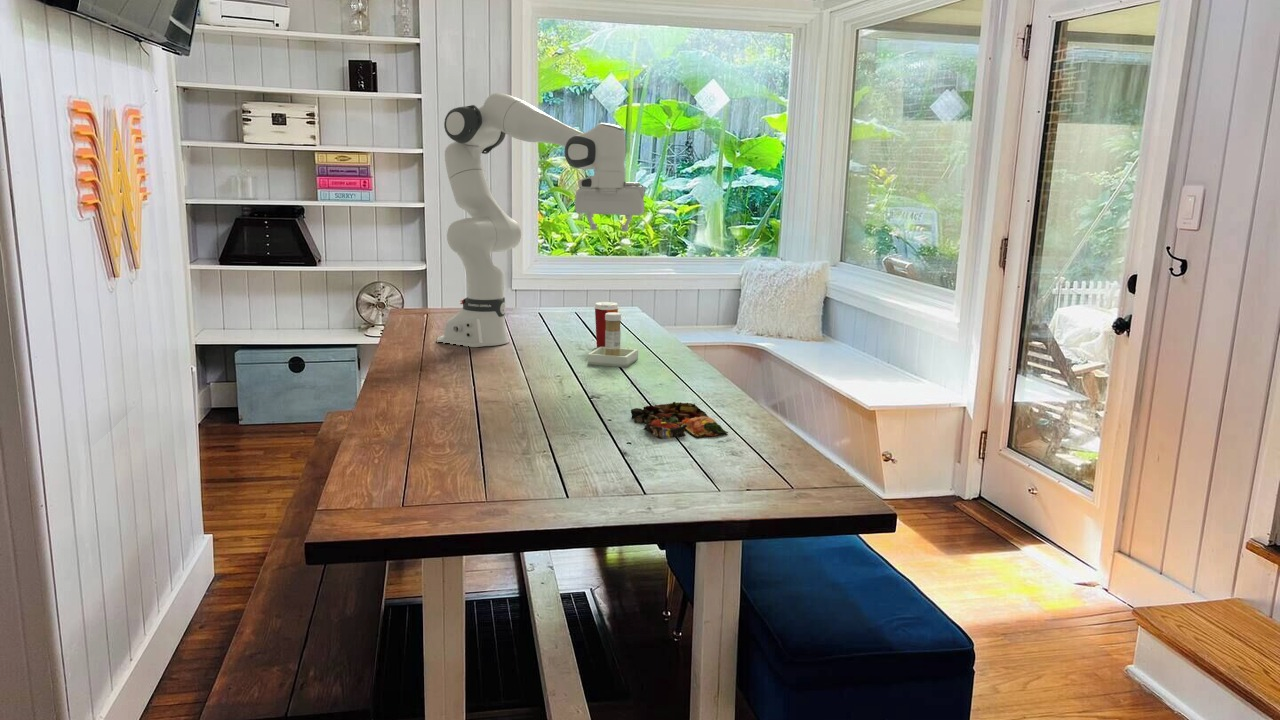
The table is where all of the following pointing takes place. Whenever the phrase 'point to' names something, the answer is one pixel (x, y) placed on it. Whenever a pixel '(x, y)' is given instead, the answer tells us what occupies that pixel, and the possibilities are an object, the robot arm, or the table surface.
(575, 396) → the table surface
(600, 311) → the paper cup
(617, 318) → the sprinkles bottle
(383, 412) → the table surface
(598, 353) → the tray
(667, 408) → the food
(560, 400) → the table surface
